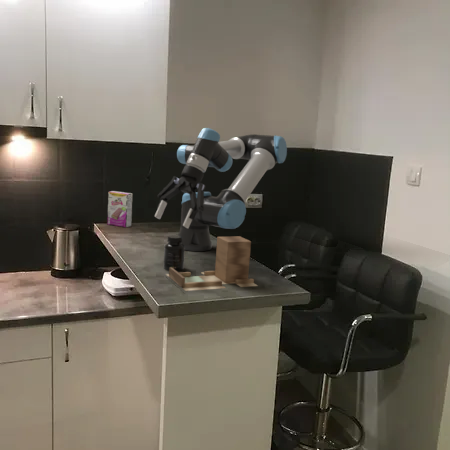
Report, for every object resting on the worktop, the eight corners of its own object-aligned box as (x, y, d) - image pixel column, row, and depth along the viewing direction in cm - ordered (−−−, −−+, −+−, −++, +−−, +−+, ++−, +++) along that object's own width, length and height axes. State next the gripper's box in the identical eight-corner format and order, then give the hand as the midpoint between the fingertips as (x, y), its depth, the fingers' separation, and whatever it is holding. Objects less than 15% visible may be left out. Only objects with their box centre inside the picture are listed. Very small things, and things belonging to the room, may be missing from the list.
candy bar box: (106, 224, 243) (107, 191, 241) (112, 223, 248) (113, 190, 245) (126, 227, 239) (127, 193, 237) (131, 226, 244) (133, 193, 241)
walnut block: (236, 274, 165) (239, 236, 163) (247, 281, 158) (251, 241, 156) (214, 275, 162) (217, 236, 160) (225, 282, 155) (228, 242, 153)
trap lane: (232, 273, 170) (233, 262, 170) (257, 288, 154) (258, 276, 154) (165, 277, 160) (166, 265, 160) (185, 294, 144) (186, 280, 144)
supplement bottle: (163, 268, 171) (165, 233, 169) (183, 269, 172) (185, 235, 170) (162, 273, 164) (164, 237, 162) (183, 274, 165) (185, 239, 163)
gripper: (163, 158, 183) (139, 210, 180) (217, 170, 169) (192, 227, 166) (175, 167, 189) (152, 217, 186) (227, 179, 175) (203, 234, 172)
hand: (170, 222), depth 176 cm, fingers open, 13 cm apart
